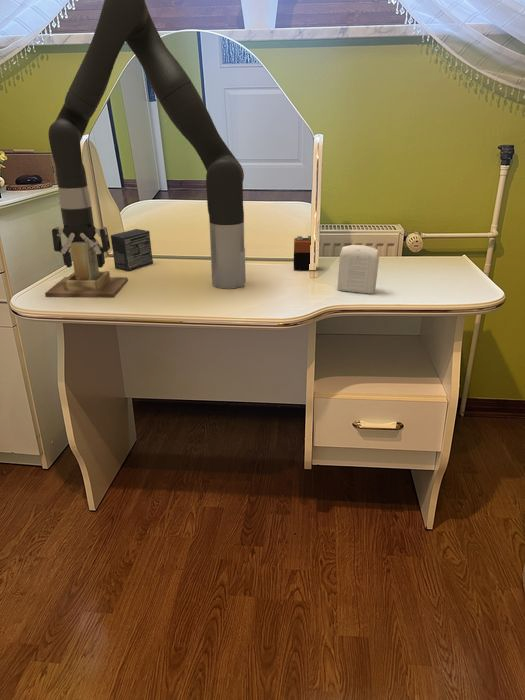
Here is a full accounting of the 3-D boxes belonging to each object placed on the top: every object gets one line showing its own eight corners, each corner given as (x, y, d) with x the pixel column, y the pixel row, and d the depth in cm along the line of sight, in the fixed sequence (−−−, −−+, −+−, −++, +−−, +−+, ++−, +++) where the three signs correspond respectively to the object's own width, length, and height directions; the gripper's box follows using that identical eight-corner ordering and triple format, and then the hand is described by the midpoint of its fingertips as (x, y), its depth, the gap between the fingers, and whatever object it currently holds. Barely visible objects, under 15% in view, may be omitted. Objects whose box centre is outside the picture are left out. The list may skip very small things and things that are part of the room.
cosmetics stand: (127, 280, 148) (126, 268, 146) (113, 297, 135) (112, 284, 133) (65, 280, 148) (63, 268, 146) (45, 296, 135) (43, 284, 134)
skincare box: (86, 280, 144) (79, 237, 139) (101, 281, 144) (95, 237, 138) (76, 288, 138) (68, 243, 133) (91, 288, 138) (85, 243, 133)
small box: (139, 260, 167) (136, 227, 162) (154, 263, 163) (150, 230, 159) (113, 268, 159) (109, 234, 154) (128, 271, 156) (123, 237, 151)
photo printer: (376, 290, 140) (380, 245, 135) (374, 295, 136) (379, 249, 131) (338, 286, 143) (341, 242, 138) (335, 291, 139) (338, 245, 134)
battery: (316, 271, 156) (317, 238, 152) (293, 271, 156) (294, 238, 152) (315, 267, 160) (316, 234, 156) (293, 266, 160) (294, 234, 156)
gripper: (107, 202, 135) (115, 263, 142) (53, 202, 135) (64, 262, 142) (98, 207, 128) (107, 271, 135) (42, 207, 129) (53, 270, 136)
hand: (85, 266), depth 139 cm, fingers open, 8 cm apart
